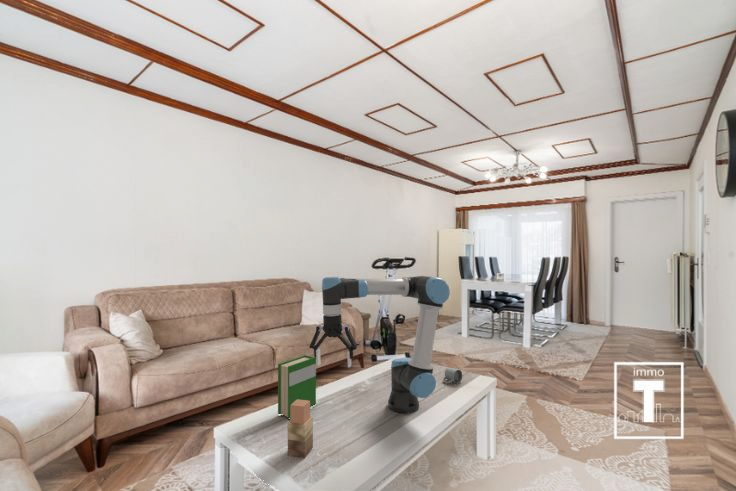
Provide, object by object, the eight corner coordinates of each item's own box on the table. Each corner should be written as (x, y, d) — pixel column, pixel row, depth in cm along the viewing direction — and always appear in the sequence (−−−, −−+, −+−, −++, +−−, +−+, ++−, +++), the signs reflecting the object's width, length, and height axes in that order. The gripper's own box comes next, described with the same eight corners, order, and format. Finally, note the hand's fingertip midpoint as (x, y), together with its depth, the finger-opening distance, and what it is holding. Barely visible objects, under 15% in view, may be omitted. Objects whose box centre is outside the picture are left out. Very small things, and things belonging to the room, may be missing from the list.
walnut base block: (312, 448, 139) (312, 432, 139) (304, 458, 132) (304, 441, 132) (296, 445, 141) (296, 430, 141) (287, 455, 134) (287, 439, 134)
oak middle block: (312, 432, 139) (312, 417, 139) (304, 441, 132) (304, 425, 132) (296, 430, 141) (296, 414, 141) (287, 439, 134) (287, 423, 134)
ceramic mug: (452, 378, 217) (451, 365, 217) (462, 381, 210) (462, 368, 210) (439, 382, 211) (439, 368, 211) (450, 386, 204) (450, 372, 204)
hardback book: (289, 420, 162) (289, 366, 163) (277, 416, 166) (278, 363, 167) (315, 406, 177) (315, 357, 177) (304, 403, 181) (304, 355, 182)
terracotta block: (310, 417, 138) (310, 400, 139) (303, 424, 133) (303, 406, 133) (297, 416, 140) (297, 399, 140) (290, 422, 135) (290, 405, 135)
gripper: (363, 313, 150) (365, 364, 150) (307, 312, 156) (309, 361, 156) (358, 316, 143) (360, 370, 142) (300, 315, 149) (302, 367, 148)
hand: (333, 365), depth 149 cm, fingers open, 13 cm apart
